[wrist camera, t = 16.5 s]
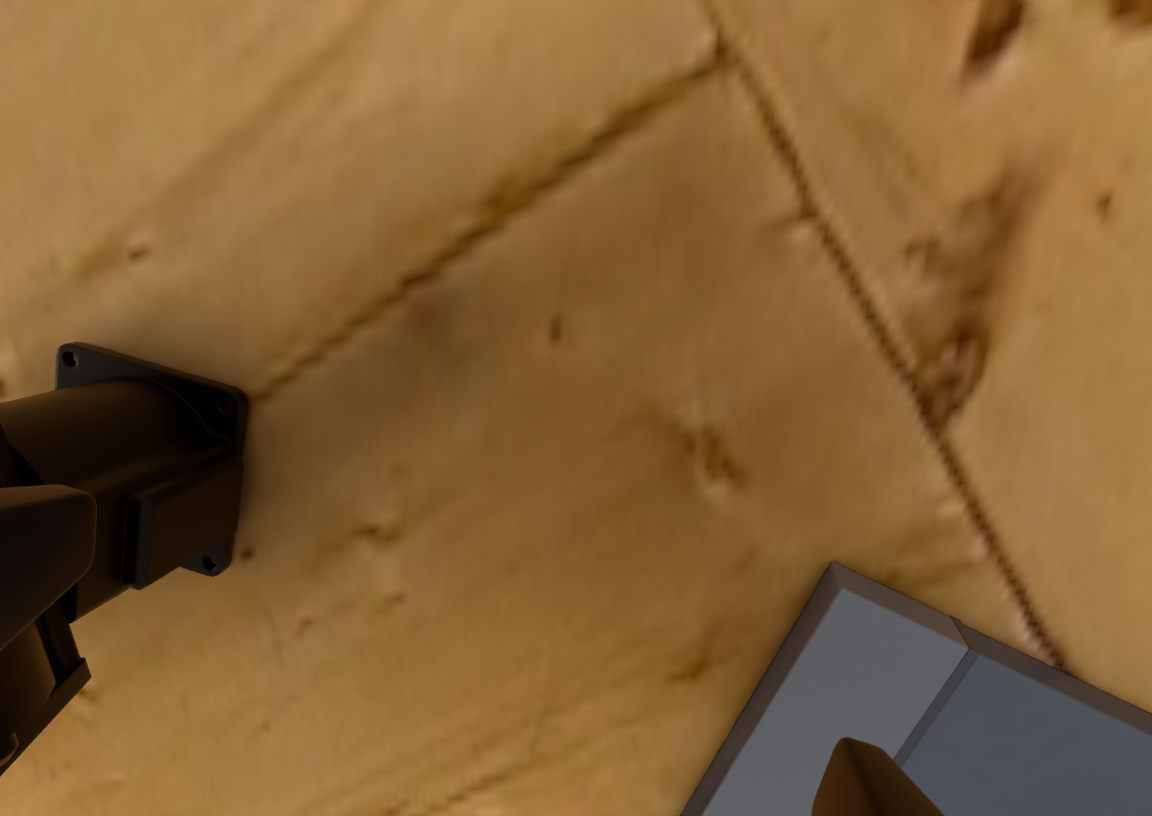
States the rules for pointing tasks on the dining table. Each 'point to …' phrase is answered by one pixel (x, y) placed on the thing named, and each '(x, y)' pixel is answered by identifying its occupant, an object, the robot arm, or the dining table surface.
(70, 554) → the robot arm
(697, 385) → the dining table surface
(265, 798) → the dining table surface
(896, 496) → the dining table surface
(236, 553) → the dining table surface
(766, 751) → the grey stepped slab
